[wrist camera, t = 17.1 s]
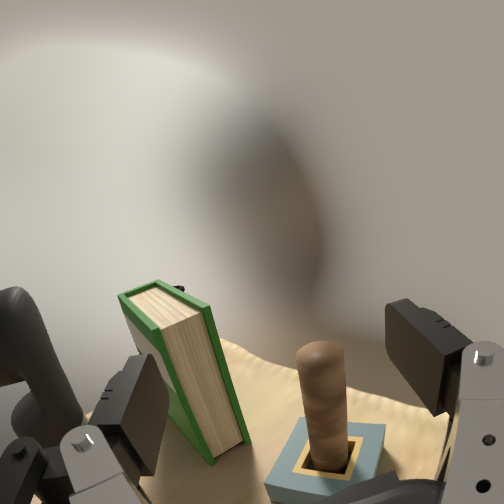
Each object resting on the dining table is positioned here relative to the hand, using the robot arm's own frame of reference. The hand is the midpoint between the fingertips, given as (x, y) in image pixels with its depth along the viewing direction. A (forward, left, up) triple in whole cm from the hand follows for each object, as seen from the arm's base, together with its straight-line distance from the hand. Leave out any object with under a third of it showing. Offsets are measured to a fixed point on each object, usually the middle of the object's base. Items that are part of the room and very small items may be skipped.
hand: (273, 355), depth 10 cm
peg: (-4, +15, -31) cm, 35 cm away
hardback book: (-27, +19, -32) cm, 46 cm away
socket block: (-4, +15, -32) cm, 36 cm away
